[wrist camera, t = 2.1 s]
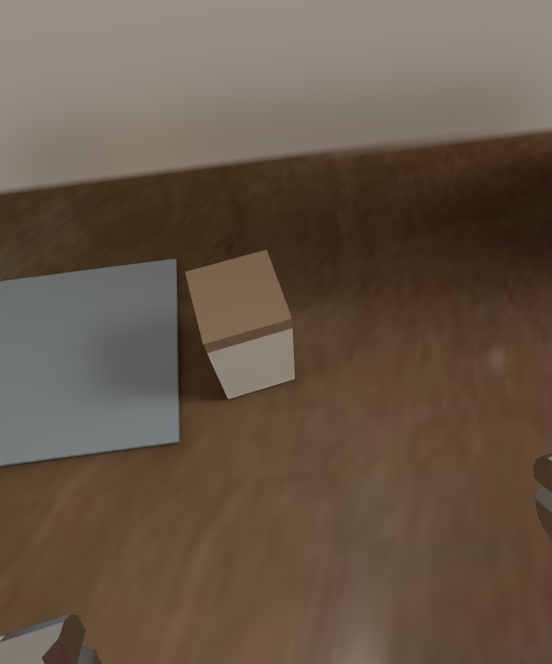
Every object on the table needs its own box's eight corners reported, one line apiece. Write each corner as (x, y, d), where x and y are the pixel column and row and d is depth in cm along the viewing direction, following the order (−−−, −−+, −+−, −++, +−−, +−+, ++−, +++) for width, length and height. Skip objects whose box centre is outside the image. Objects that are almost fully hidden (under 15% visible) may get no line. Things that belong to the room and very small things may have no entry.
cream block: (274, 322, 30) (266, 249, 23) (294, 379, 28) (292, 318, 21) (212, 339, 30) (185, 271, 23) (228, 399, 28) (203, 344, 21)
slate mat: (176, 261, 33) (175, 258, 33) (179, 442, 27) (178, 441, 27) (-6, 284, 33) (-8, 282, 33) (-48, 472, 27) (-52, 471, 26)
